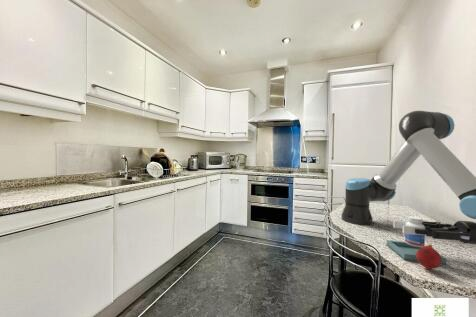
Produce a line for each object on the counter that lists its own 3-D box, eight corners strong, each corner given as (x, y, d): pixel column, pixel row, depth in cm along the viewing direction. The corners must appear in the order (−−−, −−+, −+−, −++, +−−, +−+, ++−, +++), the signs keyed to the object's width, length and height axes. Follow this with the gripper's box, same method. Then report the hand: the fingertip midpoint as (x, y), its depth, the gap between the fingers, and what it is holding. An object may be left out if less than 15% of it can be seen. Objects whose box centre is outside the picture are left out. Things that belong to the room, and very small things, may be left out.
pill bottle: (425, 249, 71) (426, 221, 71) (405, 244, 74) (406, 218, 74) (423, 244, 75) (424, 217, 75) (404, 240, 78) (405, 214, 78)
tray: (386, 245, 82) (386, 240, 82) (421, 248, 80) (421, 243, 80) (404, 260, 70) (404, 253, 70) (445, 264, 68) (445, 258, 68)
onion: (432, 275, 61) (433, 249, 61) (411, 265, 67) (412, 241, 66) (445, 273, 63) (446, 247, 62) (424, 263, 68) (425, 239, 68)
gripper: (502, 255, 62) (414, 247, 67) (452, 234, 80) (385, 228, 85) (503, 231, 62) (414, 224, 67) (452, 214, 80) (386, 210, 85)
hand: (398, 226), depth 76 cm, fingers closed on pill bottle, 5 cm apart
